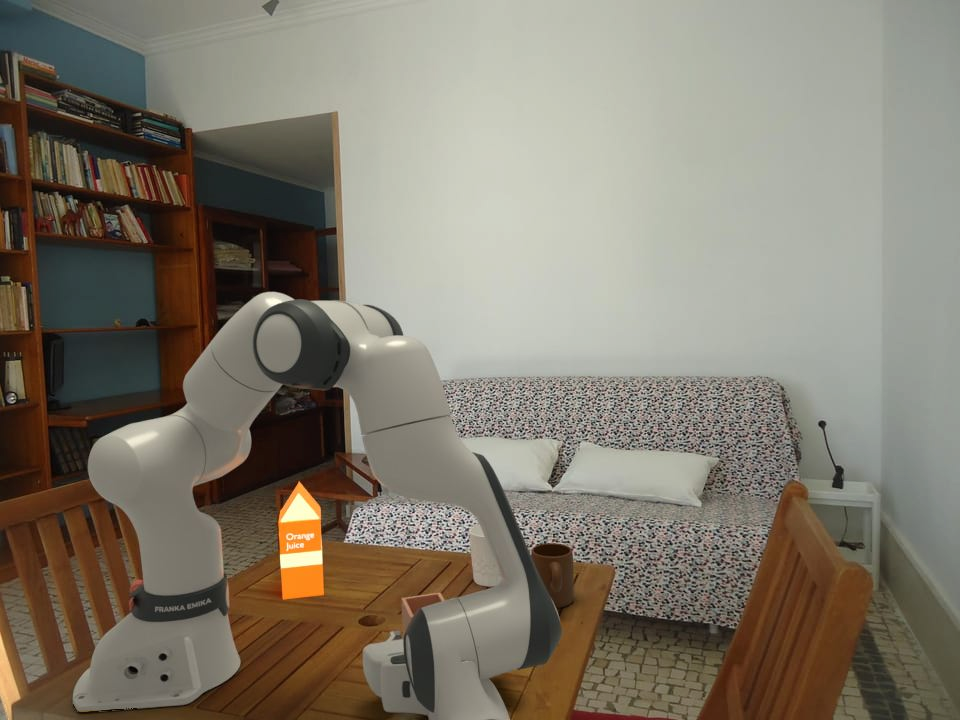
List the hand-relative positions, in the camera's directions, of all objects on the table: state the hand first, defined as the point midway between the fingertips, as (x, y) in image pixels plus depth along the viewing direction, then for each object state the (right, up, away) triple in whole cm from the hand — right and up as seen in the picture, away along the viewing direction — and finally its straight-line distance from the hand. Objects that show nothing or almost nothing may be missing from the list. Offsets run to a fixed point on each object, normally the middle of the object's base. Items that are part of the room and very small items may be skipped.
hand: (426, 630), depth 107 cm
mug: (+21, -4, +21) cm, 30 cm away
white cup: (+10, -3, +34) cm, 35 cm away
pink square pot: (0, -6, +1) cm, 6 cm away
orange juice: (-26, -4, +32) cm, 42 cm away
